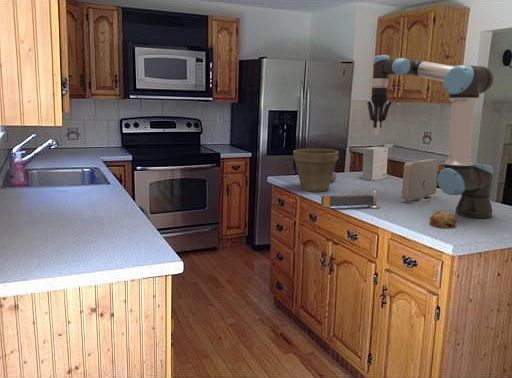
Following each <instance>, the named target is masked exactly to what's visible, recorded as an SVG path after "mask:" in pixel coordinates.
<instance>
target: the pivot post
mask: <svg viewBox="0 0 512 378" xmlns="http://www.w3.org/2000/svg"><path fill="white" fill-rule="evenodd" d="M371 195H372V203H371V205H366V206H367V208H368V209H372V210H374V209H375V210H376V209H377V210H378V209H381V205H379V204H378V202H377V200H378V190H375V189H372V190H371Z"/></svg>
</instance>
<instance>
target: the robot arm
mask: <svg viewBox="0 0 512 378" xmlns="http://www.w3.org/2000/svg"><path fill="white" fill-rule="evenodd" d="M390 58H391V57H390V55H387V54H386V55H385V54H383V55H375V56H374V59H373V69H372V71H373V72H372V86H371V87H372V88H371V98H370V99H369V100H368V101H366V102H365V103H366V106H367V109H368V115H369V120H370V121H372V123H373V125H372V127H373V129H374V135H378V136H379V135H380V129H381V128H382V124H383V123H382V122H384V121H386V119H387V116H388V113H389V108H390V106H391V105H392V101H390V100H388V88H387V87H389V85H388V84H389V76H410V77H411V76H413V77H417V78H418V77H419V78H422V79H423V78H425V79H429V80H433V81H438V82H439V81H440V82H443V86H444V89H445V91H446V92H447V93H448V100H450V102H451V113H450V114H451V117H450V128H449V129H450V130H449V131H450V132H449V143H448V146H449V147H448V157H447V159H446V161H445V162H444V163H443V168H442V169H441V170H440V172H438V175H437V185H438V187H439V189H441V191H442V192H443V194H446V195H449V196H460V195H461V196H460V198H459V201H458V203H457V204H456V206H455V214H457V215H459V216H461V217H467V218H470V219H471V218H474V219H490V218H492V217H493V208H492V203H491V193H492V192H491V191H492V183H493V177H494V168H493V166H492V165H489V164H482V163H481V164H480V163H473V162H472V160H471V155H472V154H471V152H472V140H473V139H472V138H473V128H474V127H473V126H474V115H475V104H476V102H477V101H478V100H479V99H480V95H482V94H484V93H486V92H488V91H489V90H490V89H491V88H492V86H493V84H494V81H495V78H494V77H495V76H494V74H493V72H492V70H491V69H489V68H488V67H486V66H483V65H471V64H470V65H469V64H461V65H450V64H449V65H448V64H443V63H437V62H432V61H431V62H430V61H425V60H421V59H408V58H405V57H398V58H391V59H390ZM372 104H373V105H372ZM384 105H385V106H384Z"/></svg>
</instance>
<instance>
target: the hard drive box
mask: <svg viewBox="0 0 512 378" xmlns="http://www.w3.org/2000/svg"><path fill="white" fill-rule="evenodd" d="M388 152H389V147H386V146H372V147H364V148H363V156H362V157H363V160H362V161H363V162H362V164H363V165H362V177H361V178H362V180H363V179H366V180H365V181H369V180H371V181H370V182H373V180H375V181H378V180H379V181H380V180H384V179H385V180H386V179H387V174H388V173H387V172H388V171H387V170H388Z"/></svg>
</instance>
